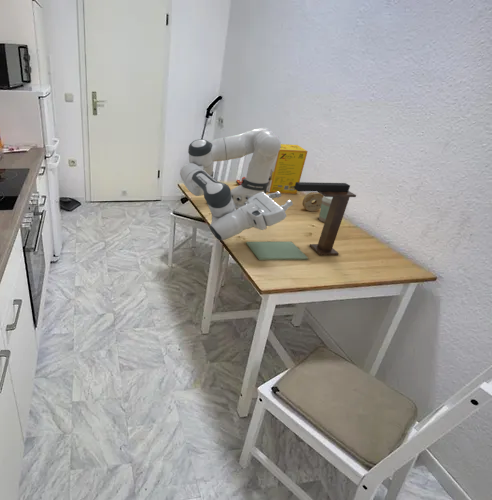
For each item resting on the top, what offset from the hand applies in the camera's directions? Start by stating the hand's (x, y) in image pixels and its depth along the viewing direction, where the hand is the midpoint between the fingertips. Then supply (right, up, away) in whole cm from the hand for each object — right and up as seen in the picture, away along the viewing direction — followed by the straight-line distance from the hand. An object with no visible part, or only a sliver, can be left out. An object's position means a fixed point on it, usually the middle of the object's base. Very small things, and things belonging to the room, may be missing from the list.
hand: (285, 197), depth 136 cm
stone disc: (+35, +1, +54) cm, 64 cm away
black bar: (+13, +3, 0) cm, 14 cm away
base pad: (0, -20, +11) cm, 23 cm away
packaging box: (+29, +17, +84) cm, 91 cm away
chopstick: (+7, +18, +83) cm, 85 cm away
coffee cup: (+37, -5, +43) cm, 57 cm away
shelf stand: (+18, -20, +13) cm, 30 cm away
